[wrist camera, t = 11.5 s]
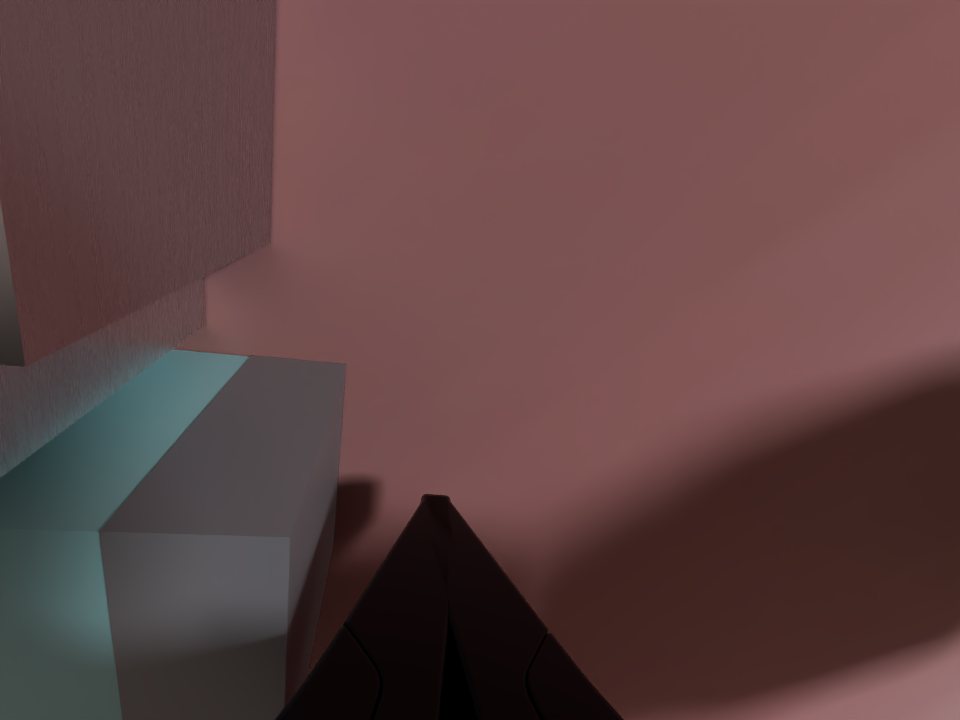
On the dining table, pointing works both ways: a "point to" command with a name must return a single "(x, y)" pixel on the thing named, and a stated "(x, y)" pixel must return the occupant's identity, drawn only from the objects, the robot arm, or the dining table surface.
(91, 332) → the bracket
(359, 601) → the robot arm
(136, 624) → the plug
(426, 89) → the dining table surface
